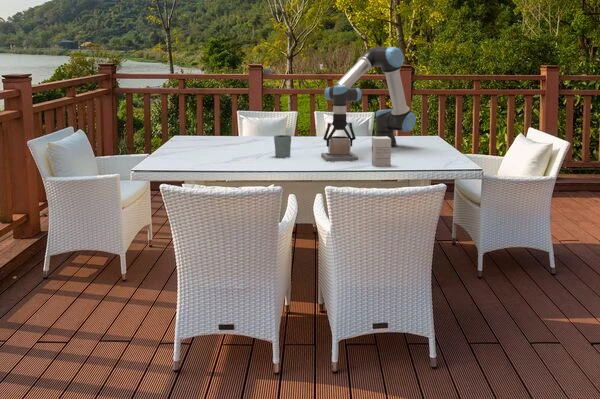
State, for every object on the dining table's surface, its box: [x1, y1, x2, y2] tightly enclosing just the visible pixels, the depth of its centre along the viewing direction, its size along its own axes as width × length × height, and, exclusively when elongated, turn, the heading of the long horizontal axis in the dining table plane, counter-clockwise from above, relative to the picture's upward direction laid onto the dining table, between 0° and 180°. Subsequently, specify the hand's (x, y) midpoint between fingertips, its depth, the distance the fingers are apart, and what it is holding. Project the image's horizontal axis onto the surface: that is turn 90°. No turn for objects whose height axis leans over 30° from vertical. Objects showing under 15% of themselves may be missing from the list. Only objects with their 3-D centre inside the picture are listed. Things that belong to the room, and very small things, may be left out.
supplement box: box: [371, 136, 392, 167], centre depth 386 cm, size 9×9×15 cm
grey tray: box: [320, 151, 359, 163], centre depth 408 cm, size 18×21×2 cm
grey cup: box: [273, 134, 292, 159], centre depth 416 cm, size 10×10×12 cm
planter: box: [329, 135, 350, 155], centre depth 408 cm, size 11×11×10 cm
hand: (339, 152), depth 409 cm, fingers closed on planter, 11 cm apart
